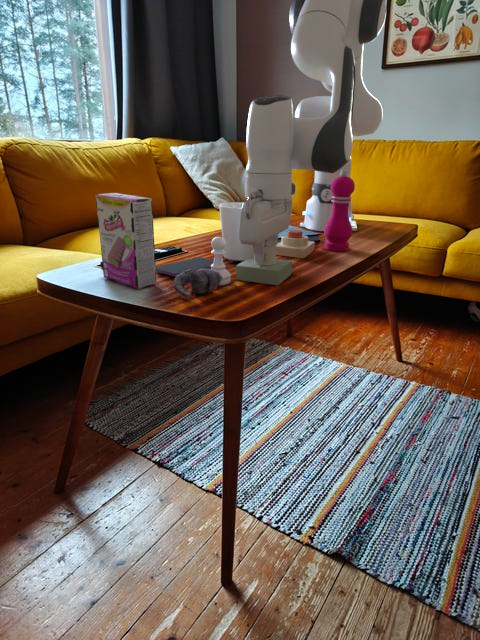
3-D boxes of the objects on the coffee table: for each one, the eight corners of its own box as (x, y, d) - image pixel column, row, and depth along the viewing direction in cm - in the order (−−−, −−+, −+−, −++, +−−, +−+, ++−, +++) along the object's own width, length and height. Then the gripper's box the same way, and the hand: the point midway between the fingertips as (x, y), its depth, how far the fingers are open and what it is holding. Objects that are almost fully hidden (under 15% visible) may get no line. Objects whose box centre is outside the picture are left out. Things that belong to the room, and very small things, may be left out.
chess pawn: (207, 286, 87) (207, 239, 83) (204, 278, 91) (203, 234, 88) (233, 285, 88) (233, 239, 84) (228, 277, 92) (228, 234, 89)
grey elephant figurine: (179, 306, 79) (220, 295, 86) (191, 288, 76) (233, 278, 82) (164, 283, 81) (205, 274, 88) (175, 264, 77) (217, 256, 84)
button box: (285, 246, 120) (285, 232, 119) (314, 250, 117) (315, 234, 116) (272, 254, 112) (273, 238, 110) (303, 258, 109) (305, 241, 107)
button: (290, 236, 115) (290, 229, 115) (303, 237, 114) (304, 230, 114) (285, 238, 112) (286, 231, 112) (299, 240, 111) (300, 233, 110)
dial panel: (252, 269, 99) (252, 255, 98) (291, 274, 95) (292, 259, 94) (235, 279, 91) (236, 264, 90) (278, 285, 88) (278, 270, 87)
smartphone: (223, 261, 101) (176, 273, 90) (223, 266, 102) (176, 278, 90) (199, 256, 105) (151, 267, 94) (199, 261, 106) (151, 272, 94)
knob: (258, 259, 95) (259, 241, 93) (278, 261, 93) (279, 243, 92) (251, 263, 91) (251, 245, 90) (271, 266, 89) (272, 247, 88)
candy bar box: (101, 278, 90) (93, 194, 84) (122, 273, 94) (116, 192, 88) (137, 290, 83) (130, 199, 77) (158, 284, 87) (153, 197, 81)
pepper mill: (348, 246, 122) (357, 169, 115) (352, 252, 115) (361, 170, 108) (321, 245, 123) (328, 168, 115) (323, 251, 116) (330, 170, 109)
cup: (227, 267, 100) (228, 208, 95) (213, 257, 108) (213, 203, 104) (268, 263, 103) (270, 207, 99) (251, 254, 112) (252, 201, 107)
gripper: (264, 194, 77) (261, 272, 82) (298, 185, 94) (294, 250, 99) (230, 192, 79) (230, 268, 84) (270, 183, 96) (267, 247, 102)
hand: (265, 258), depth 92 cm, fingers closed on knob, 4 cm apart
